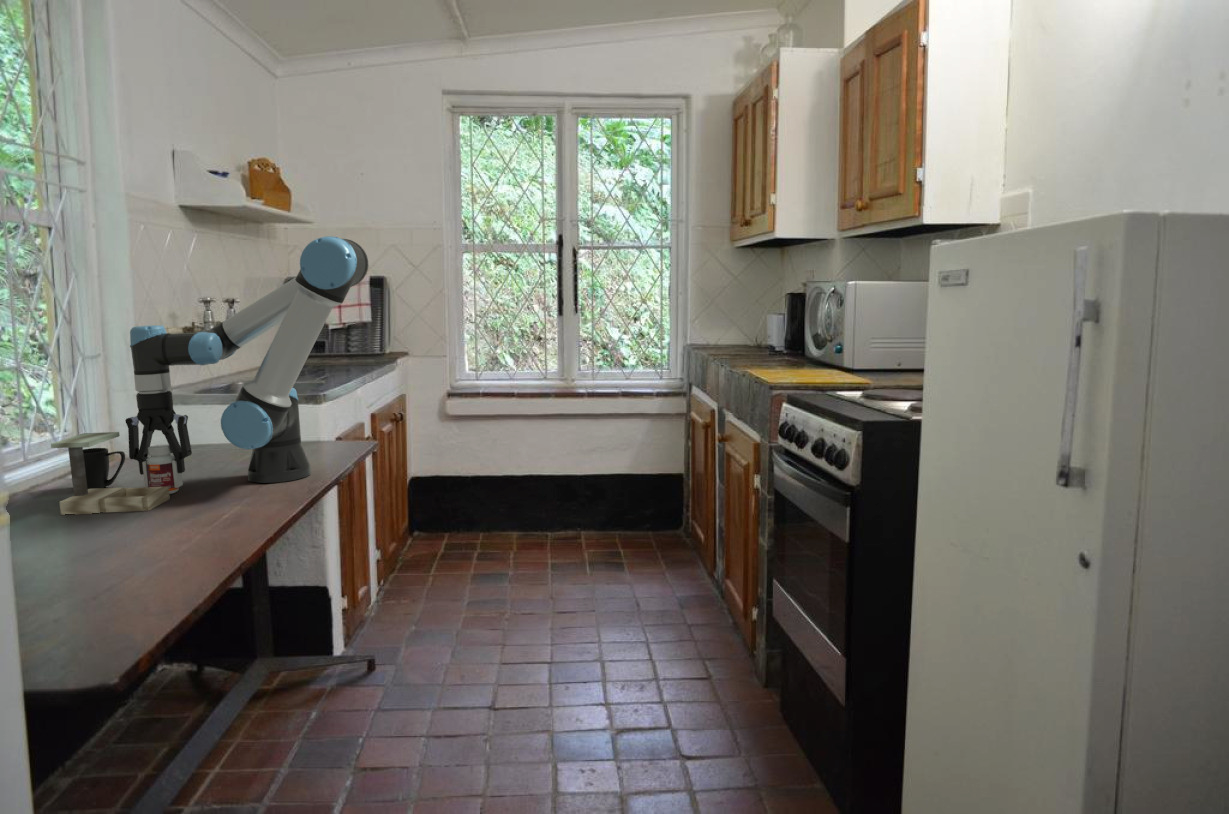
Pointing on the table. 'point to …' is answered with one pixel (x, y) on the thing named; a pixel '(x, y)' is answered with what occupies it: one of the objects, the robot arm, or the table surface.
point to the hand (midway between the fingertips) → (164, 486)
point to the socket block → (103, 497)
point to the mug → (99, 467)
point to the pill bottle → (161, 467)
